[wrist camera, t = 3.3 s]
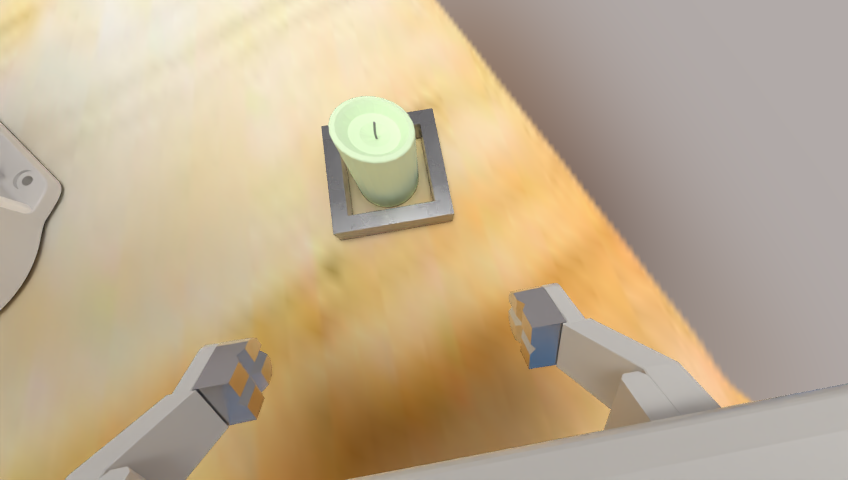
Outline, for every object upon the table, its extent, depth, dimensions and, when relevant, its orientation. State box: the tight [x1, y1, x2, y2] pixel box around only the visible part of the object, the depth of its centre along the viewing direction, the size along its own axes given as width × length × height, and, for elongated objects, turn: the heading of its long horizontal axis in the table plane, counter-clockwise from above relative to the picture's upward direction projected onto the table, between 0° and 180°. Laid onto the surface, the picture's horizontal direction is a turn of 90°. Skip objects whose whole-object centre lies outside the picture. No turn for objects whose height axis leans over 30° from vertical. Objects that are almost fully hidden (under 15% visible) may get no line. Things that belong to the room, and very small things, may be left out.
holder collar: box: [321, 109, 454, 240], centre depth 25 cm, size 9×9×2 cm
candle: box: [328, 96, 418, 207], centre depth 22 cm, size 5×5×8 cm
